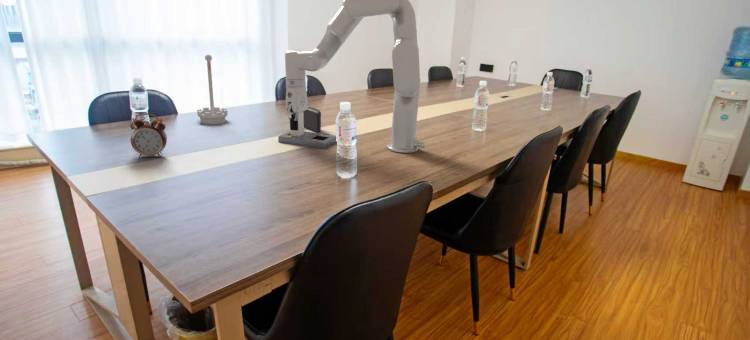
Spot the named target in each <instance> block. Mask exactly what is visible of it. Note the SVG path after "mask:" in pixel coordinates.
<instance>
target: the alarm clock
mask: <svg viewBox="0 0 750 340" xmlns="http://www.w3.org/2000/svg"><path fill="white" fill-rule="evenodd" d="M140 116H152V117H155V119H154V120H152V122H151V123H150V121H148V120H147V121H144V120H142V119H140V118H138V117H140ZM131 120H132V121H130V124H129V127H130V129H131V130H132V133H131V136H130V145H131V147H132V148H133V150H134V151H135V152H137V154H138V155H139V156H138V158H139V159H140V158H141V156H145V157H152V156H153V157H154V156H156V155H157V156H159V158H162V156H161V155H163V151H164V149H165V148H166V147H167V146H166V145H167V141H168V137H167V133H166V131H165V130H166V123H165V122H164V121H163V118H160V119H159V117H157V115H156V114H153V113H140V114H137V115H136V116H135V118H134V117H133V118H132V119H131Z"/></svg>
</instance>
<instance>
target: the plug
mask: <svg viewBox="0 0 750 340" xmlns="http://www.w3.org/2000/svg"><path fill="white" fill-rule="evenodd" d="M292 112H293V111H292ZM294 113H295V112H294ZM292 115H294V114H292ZM297 121H298V130H297V131H296V130H290V129H289V131H290V136H296V137H299V136H301V135H304V131H305V129H304V128H305V127H304V117H303V112H301V113H298V114H297Z"/></svg>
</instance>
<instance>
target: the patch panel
mask: <svg viewBox="0 0 750 340" xmlns="http://www.w3.org/2000/svg"><path fill="white" fill-rule="evenodd" d="M336 136H337V135H331V134H324V133H320V132H319V133H317V132H313V131H312V132H310V131H305V130H304V135H301V136H299V137H296V136H290V130H289V131H288V132H285V133H283V134H280V135H278V143H282V144H289V145H297V146H302V147H310V148H316V149H322V150H325V149H326V148H328V147H330V146H331V145H334V144H335V143H337V142H336Z"/></svg>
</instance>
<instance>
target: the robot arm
mask: <svg viewBox="0 0 750 340" xmlns="http://www.w3.org/2000/svg"><path fill="white" fill-rule="evenodd" d="M383 15H384V16H385V15H388V16H390V17H391V19H392V31H393V32H392V33H393V47H392V49H391V61H392V76H393V88H394V95H393V108H392V109H393V110H392V124H391V136H390V137H391V139H390V142H388V143H387V144H386V149H387V150H389V151H392V152H396V153H403V154H406V153H407V154H409V153H414V152H415V153H416V152H418V150H419V148H422V149H426V143H425V142H424V141H419V140H418V137H417V135H416V134H417V122H418V112H419V102H420V91H421V89H420V87H421V73H420V72H421V70H420V49H419V45H418V33H417V32H418V31H417V20H416V12H415V9H414V6H413V5H412V3H411V2H410V0H343V1H342V5H341V7H340V8H339V10H338V11H337V12H336V14H334V16H333V17H332V19H330V21H329V22H328V24H327V27H326V29H325V34H324V35H323V37H322V39H321V40H320V41H319V43H318V44H317V45H316V47H315V48H314V49H313V50H311V51H303V50H300V49H299V50H298V49H291V50H286V51H285V52H284V66H285V67H284V68H285V89H286V90H285V91H286V92H285V111H286V113H285V115H286V116H287V117H288V119H289V131H290V130H296V131H297V130H298V121H297V114H298V113H301V112H303V117H304V112H305V111H306V110H307V109H308V107H309V103H308V93H307V91H308V90H307V87H306V71H307V72H311V73H312V72H318V71H320V70H322V69H323V68H325V67H326V66H327V65H328V64H329V63H330V61H331V60H332V59H333V57H334V56H335V55H336V54H337V52H338V51H339V50H340V48H341V47H342V45H344V43H345V42H346V40H347V39H348V37H350V35H351V34H352V32H354V30H355V29H356V27H357V26H358V25H359V24H360V23H361V21H362V20H363V19H364V18H366V17H373V16H383ZM292 111H293V112H292ZM294 112H295V113H294ZM292 114H294V115H292Z"/></svg>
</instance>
